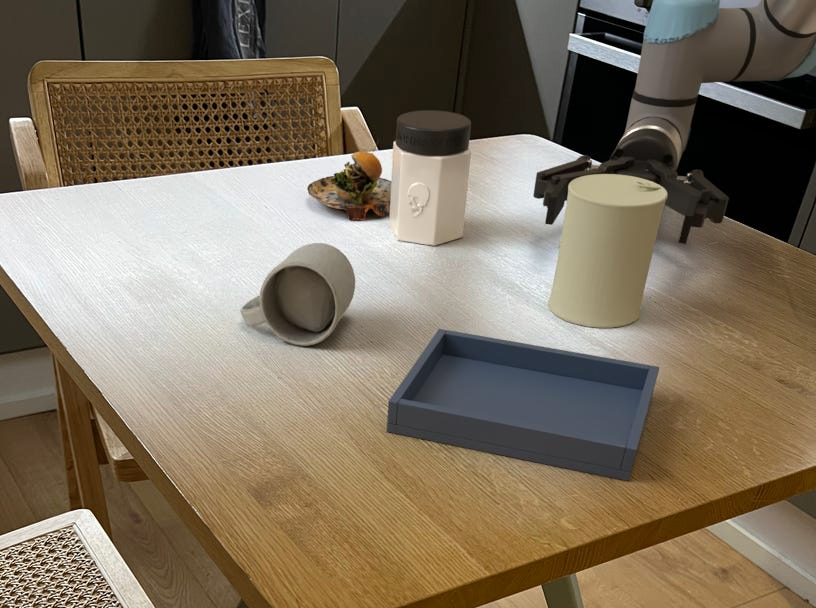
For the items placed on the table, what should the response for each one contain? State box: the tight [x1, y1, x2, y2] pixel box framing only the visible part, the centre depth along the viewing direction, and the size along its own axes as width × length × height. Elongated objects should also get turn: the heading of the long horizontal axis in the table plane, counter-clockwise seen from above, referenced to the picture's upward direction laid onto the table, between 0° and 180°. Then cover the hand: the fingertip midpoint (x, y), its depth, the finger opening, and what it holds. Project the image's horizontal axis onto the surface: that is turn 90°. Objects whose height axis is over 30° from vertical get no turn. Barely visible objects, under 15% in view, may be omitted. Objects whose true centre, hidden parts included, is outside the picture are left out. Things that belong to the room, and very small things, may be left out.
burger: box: [306, 138, 391, 222], centre depth 118 cm, size 12×12×8 cm
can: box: [547, 174, 668, 329], centre depth 94 cm, size 9×9×12 cm
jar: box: [388, 110, 472, 247], centre depth 109 cm, size 9×8×12 cm
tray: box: [386, 328, 660, 482], centre depth 81 cm, size 20×15×3 cm
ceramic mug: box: [239, 242, 356, 347], centre depth 91 cm, size 11×8×8 cm
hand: (616, 220), depth 98 cm, fingers open, 13 cm apart
